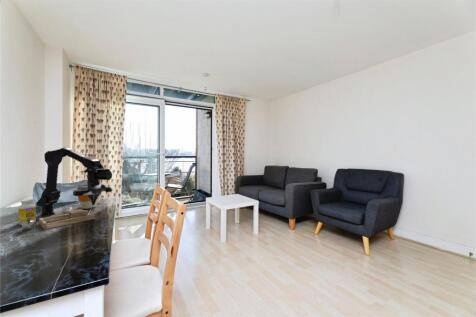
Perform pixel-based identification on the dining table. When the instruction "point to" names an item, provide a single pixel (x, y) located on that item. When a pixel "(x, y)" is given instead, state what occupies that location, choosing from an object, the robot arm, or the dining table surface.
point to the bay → (64, 222)
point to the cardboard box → (76, 213)
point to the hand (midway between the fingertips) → (93, 205)
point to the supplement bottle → (27, 210)
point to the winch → (27, 224)
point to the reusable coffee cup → (85, 198)
